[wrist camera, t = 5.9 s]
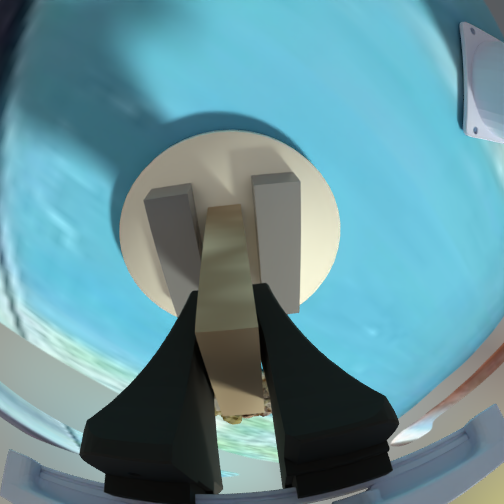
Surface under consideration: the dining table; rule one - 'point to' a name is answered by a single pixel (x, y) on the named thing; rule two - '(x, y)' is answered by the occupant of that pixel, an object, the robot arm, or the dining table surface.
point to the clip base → (229, 193)
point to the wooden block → (229, 315)
